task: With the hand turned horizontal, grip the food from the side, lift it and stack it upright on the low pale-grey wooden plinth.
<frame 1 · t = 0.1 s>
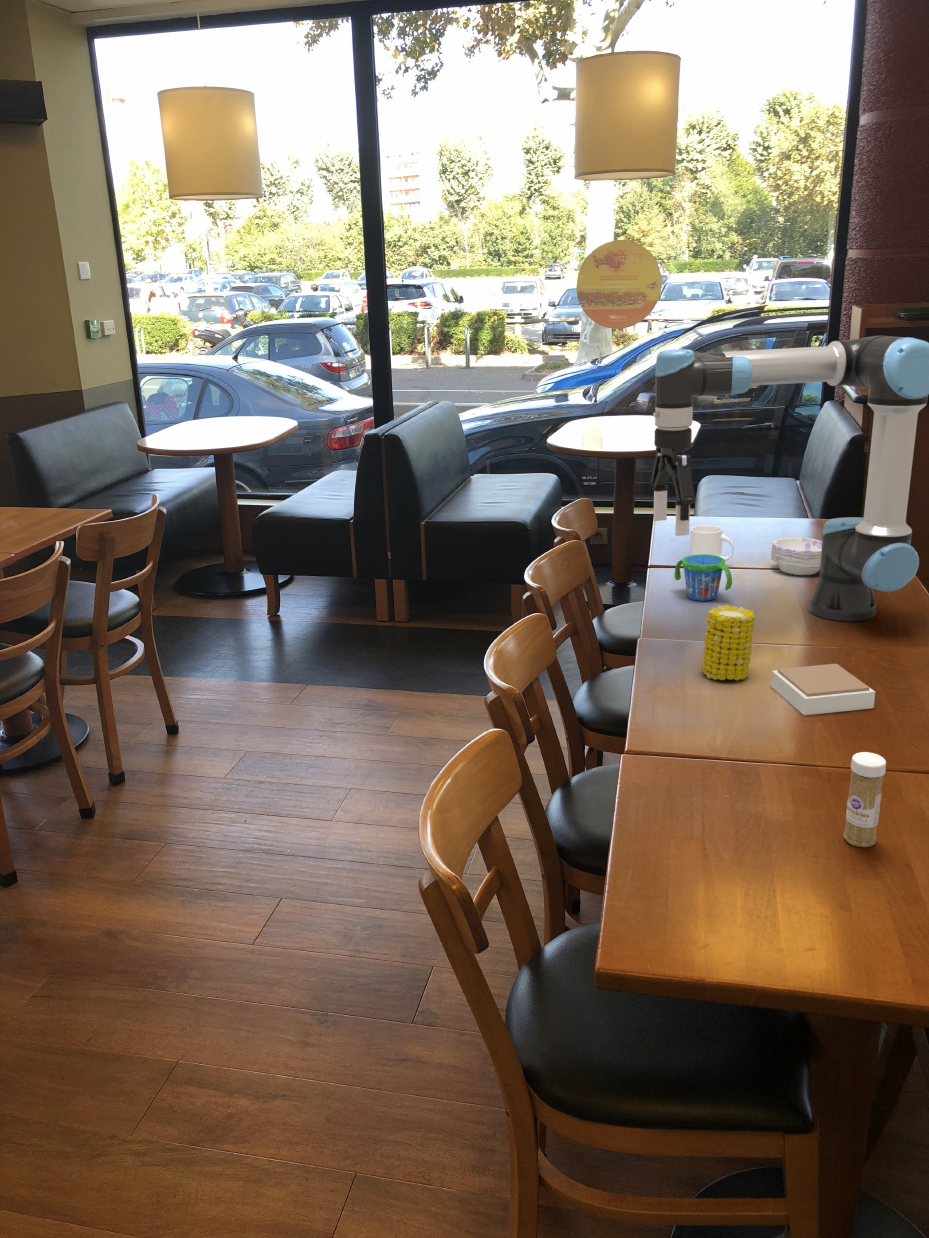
hand: (670, 527, 207), 28 cm above the table, tool pointing down, fingers open, 13 cm apart
sprinkles bottle: (859, 841, 142), on the table
mug: (711, 566, 276), on the table
snack cup: (701, 598, 250), on the table
paper bowls: (798, 571, 268), on the table
food: (726, 675, 202), on the table
plinth: (820, 696, 190), on the table
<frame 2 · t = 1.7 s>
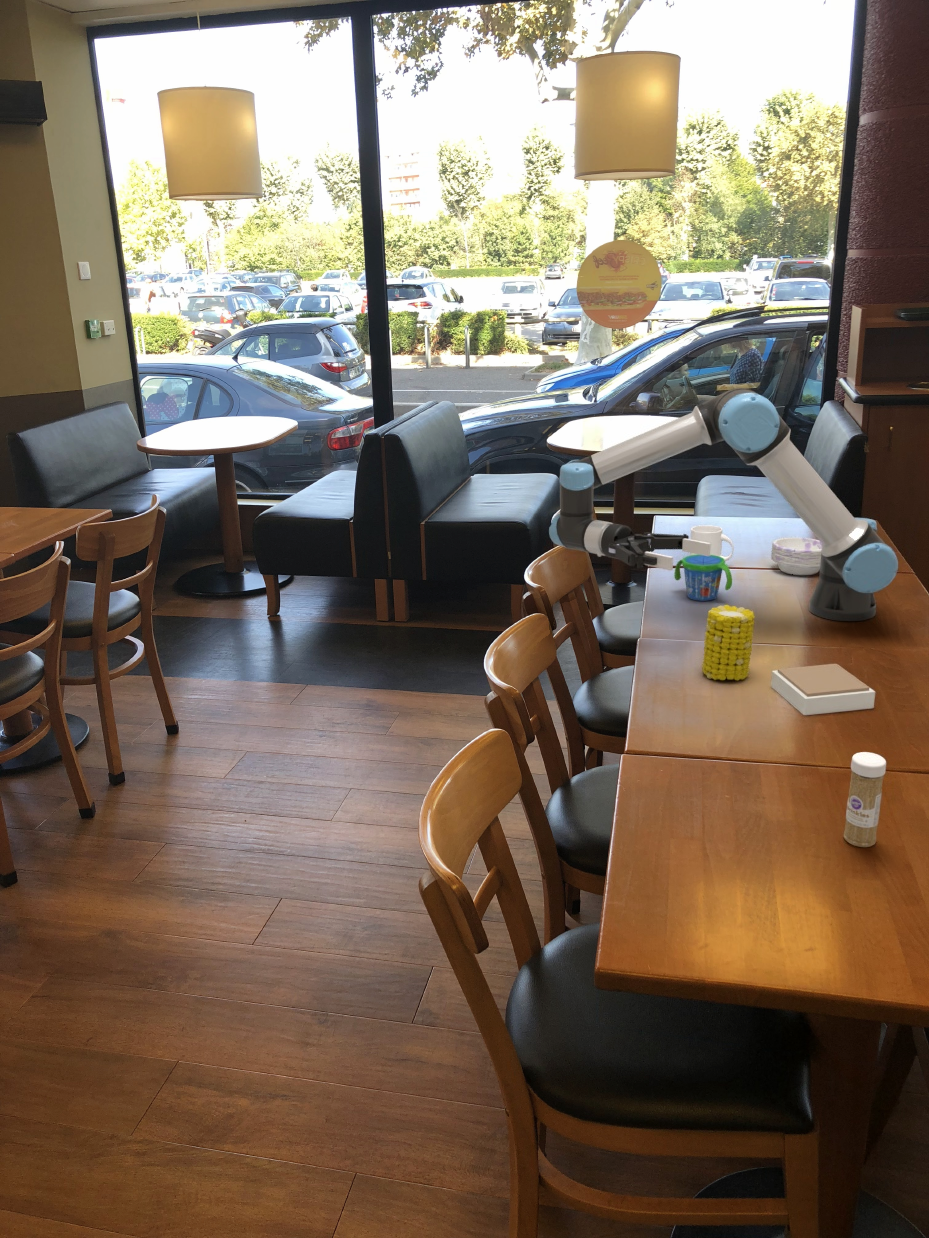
hand: (691, 556, 201), 24 cm above the table, tool horizontal, fingers open, 13 cm apart
nothing on the table moved.
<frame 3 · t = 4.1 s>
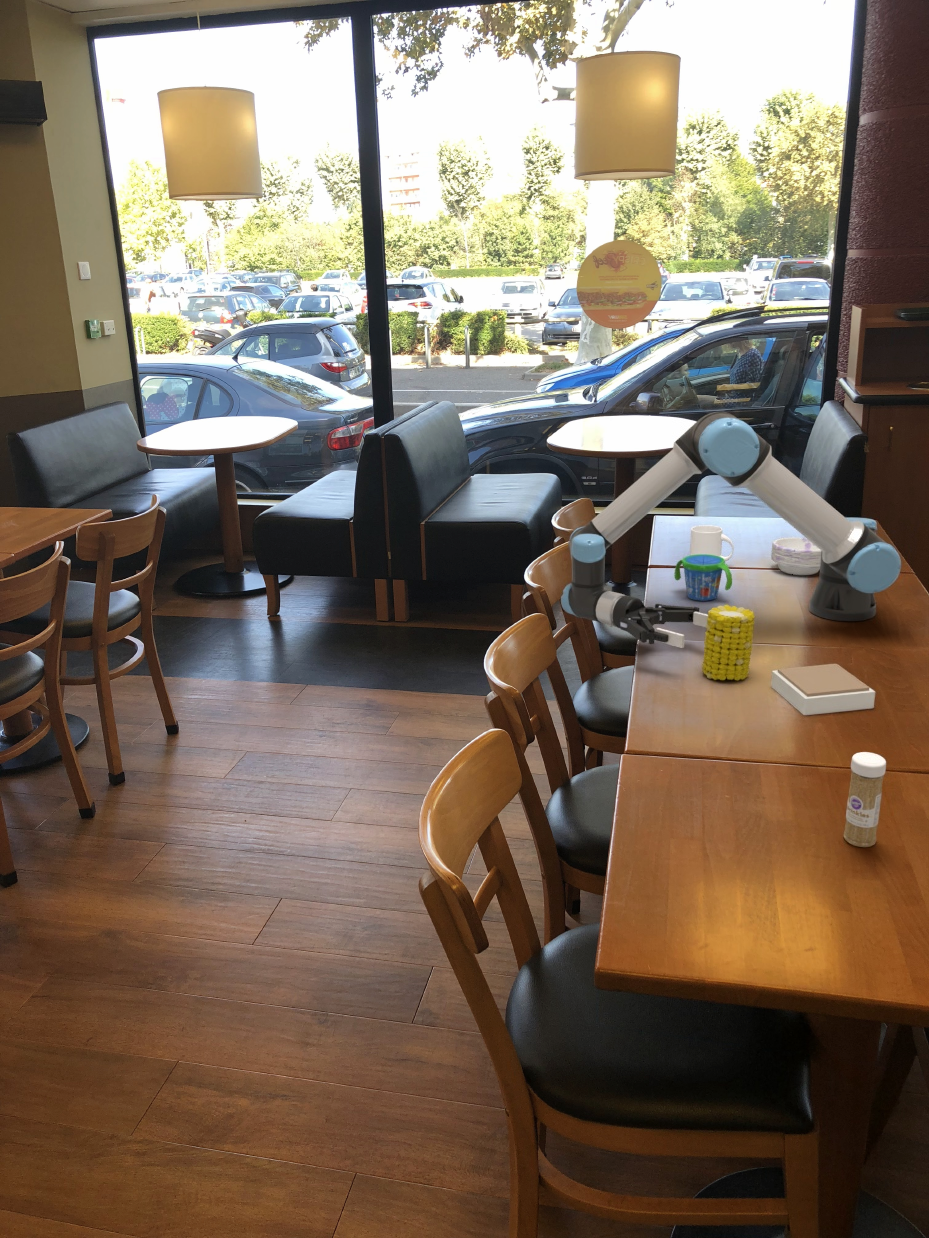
hand: (702, 632, 203), 8 cm above the table, tool horizontal, fingers open, 13 cm apart
nothing on the table moved.
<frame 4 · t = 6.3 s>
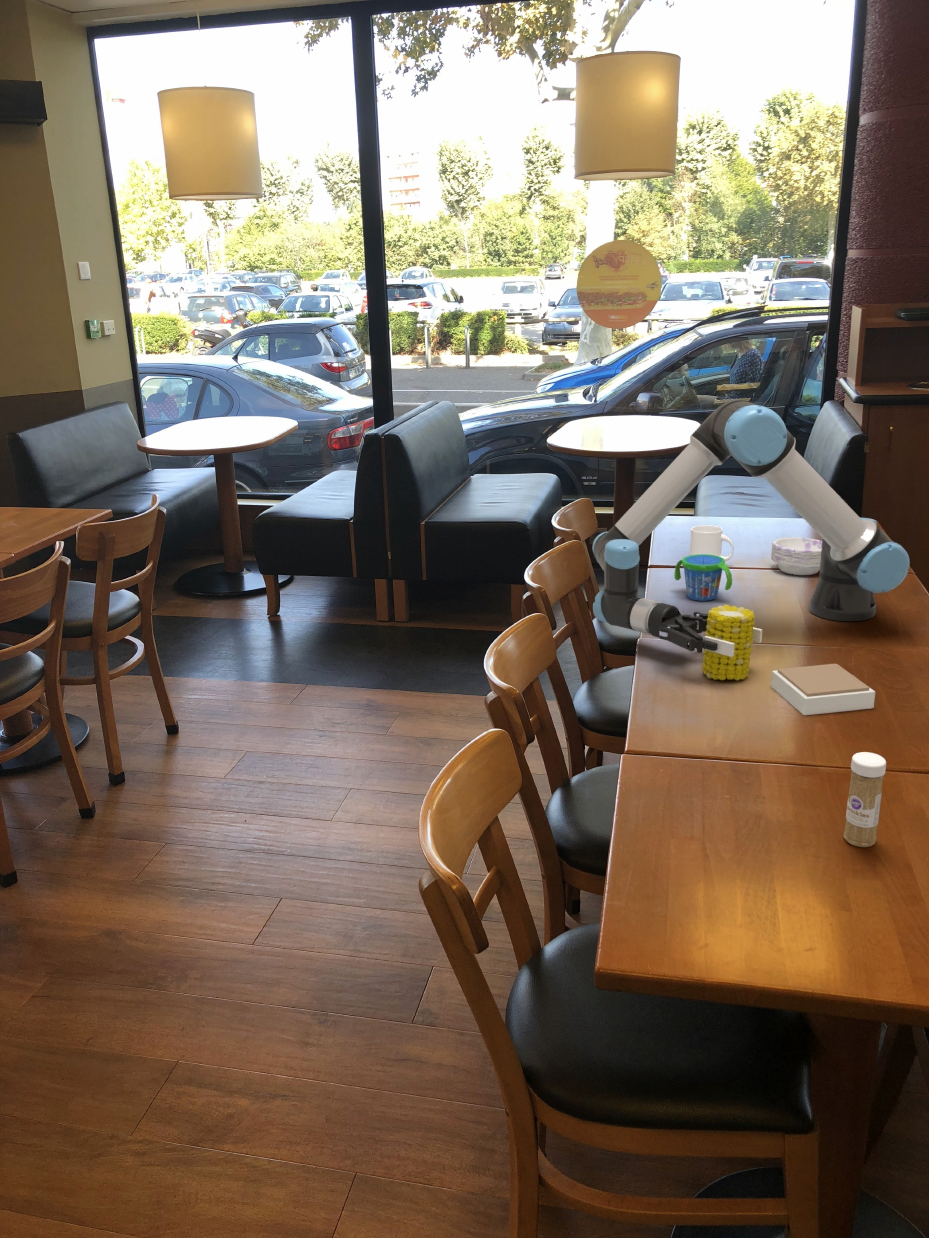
hand: (747, 643, 196), 8 cm above the table, tool horizontal, fingers closed on food, 10 cm apart
food: (726, 675, 202), on the table, touching gripper
everything else where it was.
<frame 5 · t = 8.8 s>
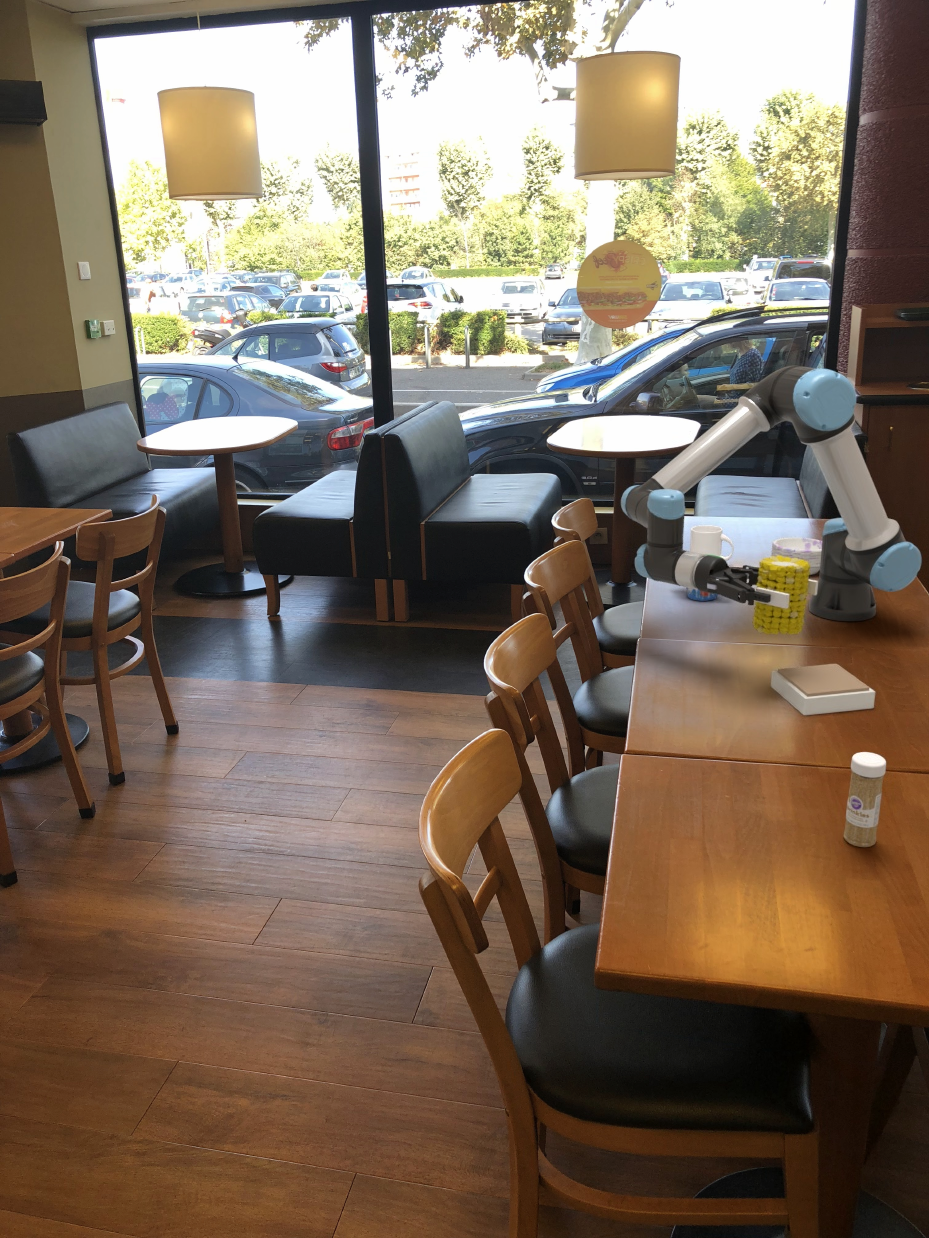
hand: (802, 594, 184), 21 cm above the table, tool horizontal, fingers closed on food, 10 cm apart
food: (778, 630, 190), point 12 cm above the table, touching gripper
everything else where it was.
when the fingers open (13 cm above the table, at t = 11.3 s): food drops 1 cm, resting on plinth.
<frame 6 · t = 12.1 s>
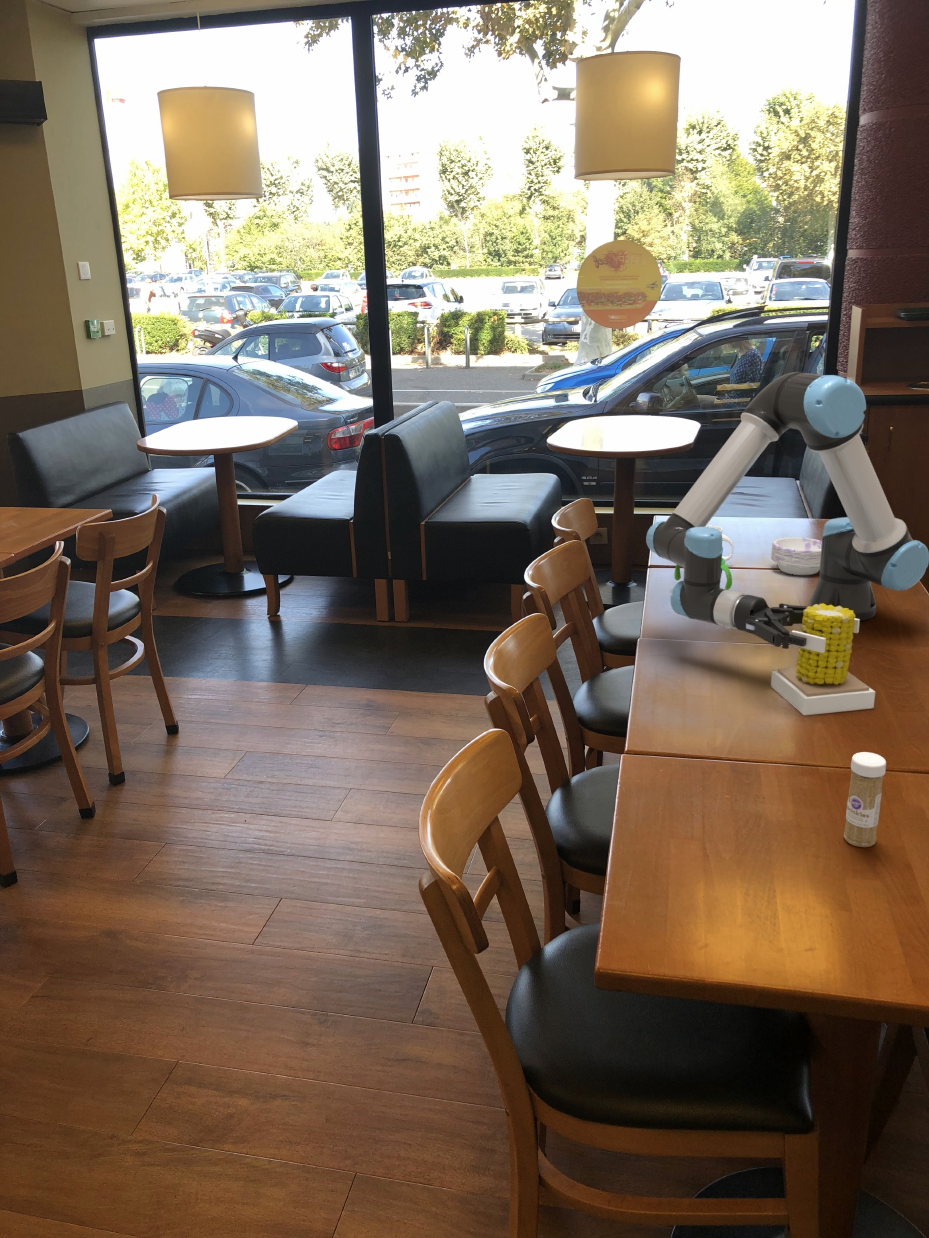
hand: (841, 635, 183), 14 cm above the table, tool horizontal, fingers open, 13 cm apart
food: (822, 678, 188), point 4 cm above the table, touching plinth
everything else where it was.
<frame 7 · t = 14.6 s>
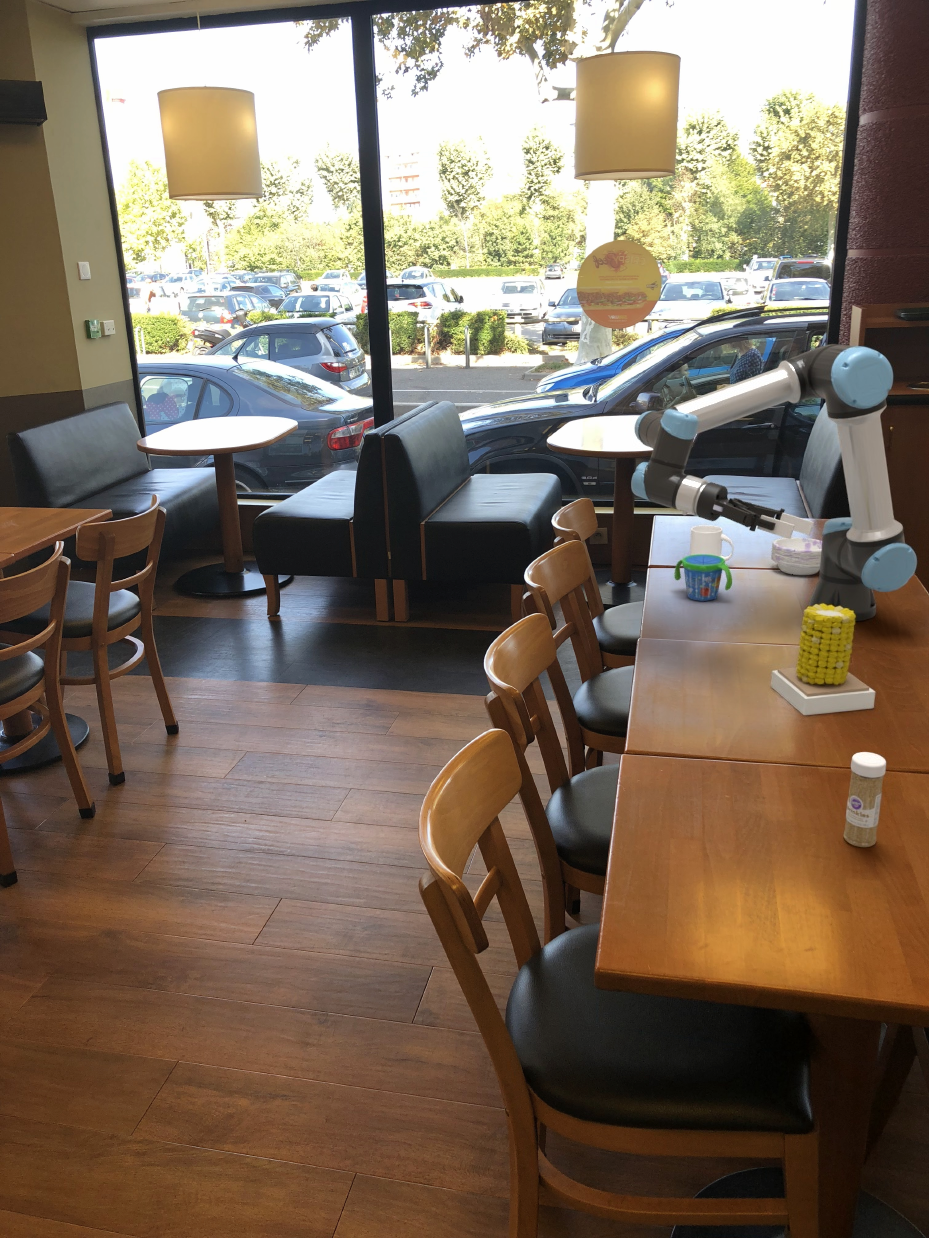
hand: (802, 530, 190), 31 cm above the table, tool horizontal, fingers open, 13 cm apart
nothing on the table moved.
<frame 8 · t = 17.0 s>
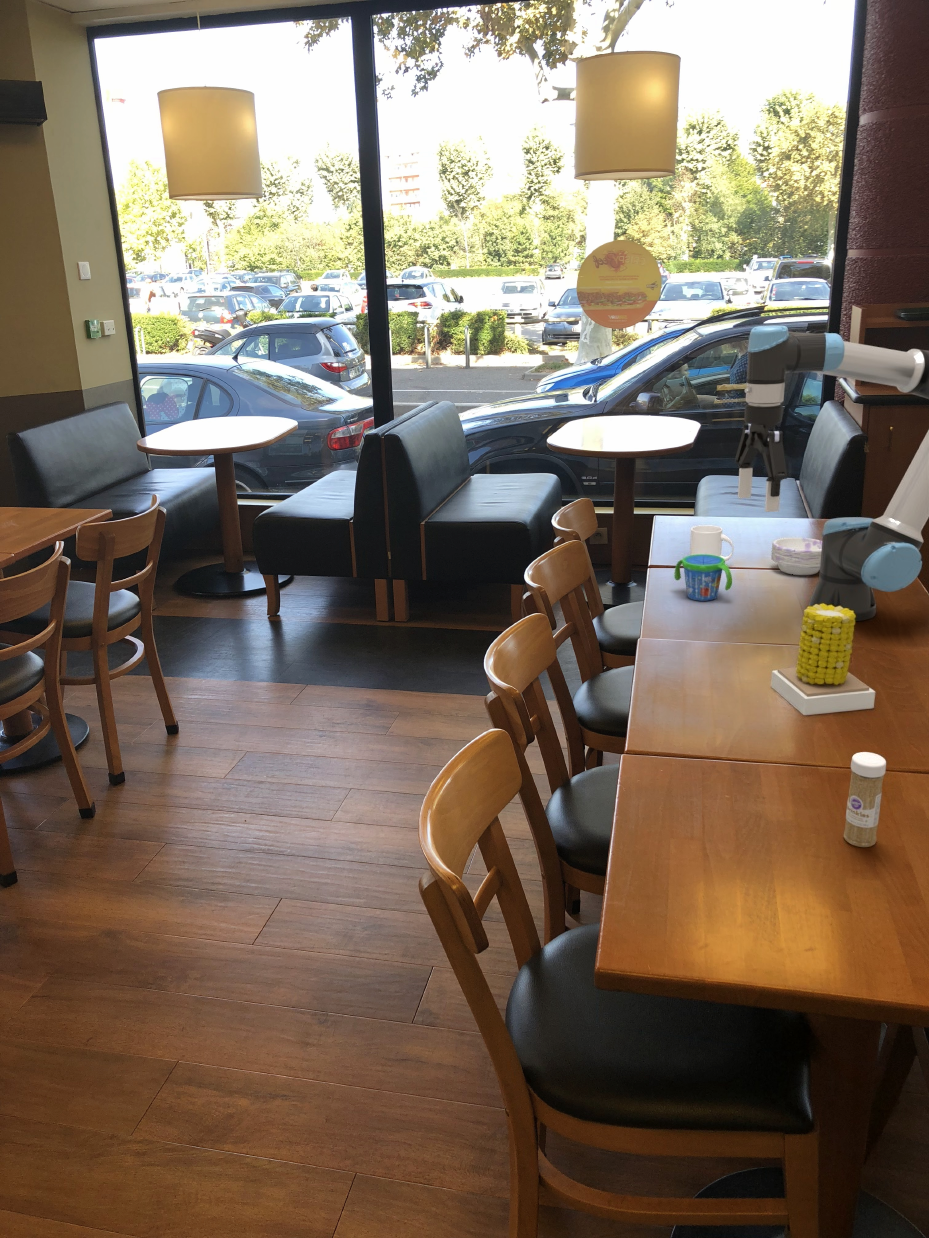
hand: (757, 504, 208), 32 cm above the table, tool pointing down, fingers open, 13 cm apart
nothing on the table moved.
at the end: food inside the target area on the plinth (0.0 cm from its centre), point 3.8 cm above the plinth's base; food tilted 0°; the gripper is holding nothing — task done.
